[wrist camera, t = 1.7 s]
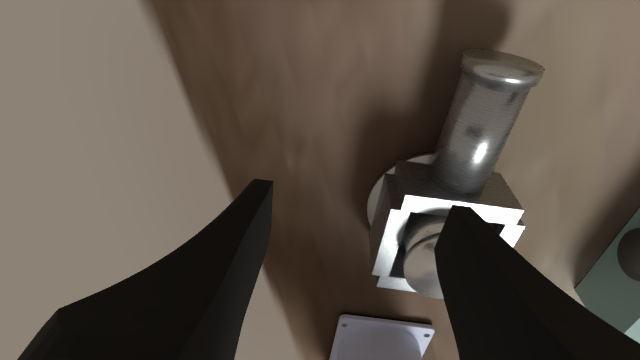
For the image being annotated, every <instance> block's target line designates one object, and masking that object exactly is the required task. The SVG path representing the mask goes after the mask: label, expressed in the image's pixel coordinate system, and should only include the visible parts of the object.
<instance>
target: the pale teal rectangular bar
mask: <svg viewBox="0 0 640 360" xmlns="http://www.w3.org/2000/svg"><path fill="white" fill-rule="evenodd" d="M575 291H576V293H577V294H578V296H579V298H580V299H581V301H582V302H583V304H584V305H585V307H586V308H587V309H588V310H589V311H591V312H592V313H594V314H595V315H597V316H598V317H600V318H601V319H602V320H604V321H605V322H607V323H608V324H610V325H611V326H613V327H614V328H616V329H617V330H619V331H621V332H622V333H624V334H625V335H627V336H629V337H630V338H632V339H633V340H635V341H637V342H638V343H640V208H639V209H638V210H637V212H636V213H635V214H634V215H633V217H632V218H631V219H630V220H629V222H628V223H627V224H626V225H625V227H624V228H623V229H622V230H621V232H620V233H619V234H618V235H617V237H616V238H615V239H614V240H613V242H612V243H611V244H610V246H609V247H608V248H607V249H606V251H605V252H604V253H603V254H602V256H601V257H600V258H599V259H598V261H597V262H596V263H595V264H594V266H593V267H592V268H591V269H590V271H589V272H588V273H587V274H586V276H585V277H584V278H583V280H582V281H581V282H580V283H579V285H578V286H577V287H576V288H575Z"/></svg>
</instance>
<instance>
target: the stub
mask: <svg viewBox="0 0 640 360" xmlns="http://www.w3.org/2000/svg"><path fill="white" fill-rule="evenodd" d="M433 155H434V152H426V153H420V154H417V155H413V156H410V157H407V158H405V159H403V161H410V162H418V163H426V164H431V161H432V158H433ZM395 167H396V163H395V164H394V165H392V166H391V167H389V168H388V169H387V170H385V171H384V172H383V173H382V174H381V175H380V176H379V177H378V179H377V180H376V181H375V183H374V184H373V186H372V188H371V190H370V193H369V196H368V200H367V215H368V220H369V223H370V226H371V225H372V221H373V217H374V213H375V210H376V206H377V202H378V198H379V194H380V191H381V187H382V183H383V179H384V175H385V173H388V174H394V171H395ZM446 218H447V216H439V215H432V214H424V213H416V212H410V214H409V217H408V220H407V223H406V226H405V229H404V232H403V235H402V238H401V239H403V240H404V245H405V251H406V255H405V257H404V260H403V270H404V276H405V279H406V281H407V283H408V285H409V286H410V287H411V288H412V289H413V290H415V291H416V292H418V293H420V294H422V295H424V296H428V297H432V298H440V299H444V297H443V294H442V290H441V287H440V283H439V279H438V275H437V269H436V262H435V253H434V247H435V245H436V242H437V240H438V238H439V235H440V233H441V230H442V228H443V226H444V223H445V221H446Z"/></svg>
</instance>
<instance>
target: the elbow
mask: <svg viewBox="0 0 640 360" xmlns="http://www.w3.org/2000/svg"><path fill="white" fill-rule="evenodd" d="M460 68H461V69H462V73H461V76H460V79H459V82H458V85H457V88H456V91H455V94H454V97H453V100H452V103H451V105H450V108H449V111H448V114H447V117H446V120H445V123H444V126H443V129H442V132H441V135H440V137H439V140H438V143H437V146H436V149H435V152H434V155H433V158H432V161H431V164H426V163H418V162H410V161H403V160H397V163H396V167H395V171H394V174H388V173H385V175H384V179H383V183H382V187H381V191H380V194H379V198H378V202H377V206H376V210H375V213H374V217H373V221H372V225H371V228H370V232H369V245H370V258H371V271H372V275H376V285H377V287H382V288H390V289H398V290H406V291H414V292H416V291H415V290H413V289H412V288H411V287H410V286H409V285H408V283H407V281H406V279H405V276H404V270H403V260H404V257H405V255H406V251H405V245H404V240H403V239H401V238H402V235H403V232H404V229H405V226H406V223H407V220H408V217H409V214H410V212H416V213H424V214H432V215H439V216H448V214H449V211H450V209H451V206H452V205H459V206H467V207H471V208H472V209H473V210H475V211H476V212H477V213H478V214H479V215H480V216H481V217H482V218H483V219H484V220H485V221H486V222H487V223H488V224H489V225H490V226H491V227H492V228H493V229H494V230H495V231H496V232H497V233H498V234H499V235H500V236H501V237H502V238H503V239H504V240H505V241H506V242H507V243H508V244H509V245H511V246H512V247H514V245H515V243H516V242H517V240H518V238H519V236H520V235H521V233H522V231H523V230H524V228H525V225H524V224H523V222H522V221H521V219H520V217H521V215H522V213H523V212H524V209H523V208H522V206H521V205H520V203H519V202H518V200H517V199H516V197H515V196H514V194H513V192H512V191H511V189H510V188H509V186H508V185H507V183H506V182H505V180H504V179H503V177H502V175H501V174H500V173H494V172H492V171H493V168H494V166H495V164H496V162H497V160H498V158H499V156H500V153H501V151H502V149H503V147H504V145H505V143H506V140H507V138H508V136H509V134H510V132H511V130H512V127H513V125H514V123H515V121H516V119H517V117H518V115H519V112H520V110H521V108H522V106H523V104H524V102H525V99H526V97H527V95H528V93H529V91H530V89H531V87H534V86H537V85H538V83H539V81H540V79H541V77H542V75H543V73H544V71H545V69H544V68H543V67H542V66H541V65H539V64H538V63H536V62H534V61H531V60H529V59H526V58H523V57H520V56H516V55H513V54H509V53H504V52H499V51H494V50H486V49H468V50H465V51H464V54H463V57H462V60H461V63H460Z"/></svg>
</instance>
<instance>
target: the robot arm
mask: <svg viewBox="0 0 640 360" xmlns="http://www.w3.org/2000/svg"><path fill="white" fill-rule="evenodd" d="M272 195H273V181H268V180H260V179H254V180H253V181H251V182H250V184H249V185H248V186H247V187H246V188H245V189H244V190H243V191H242V193H241V194H240V195H239V196H238V197H237V198H236V199H235V200H234V201H233V202H232V203H231V204H230V205H229V206H228V207H227V208H226V209H225V210H224V211H223V212H222V213H221V214H220V215H219V216H218V217H216V219H214V220H213V221H212V222H211V223H209V224H208V225H207V226H206V227H205V228H204V229H202V230H201V231H200V232H199V233H198V234H196V235H195V236H194V237H192V238H191V239H190V240H188V241H187V242H186V243H184V244H183V245H181V246H180V247H179V248H177V249H176V250H174V251H173V252H171V253H170V254H168V255H167V256H165V257H163V258H162V259H160V260H159V261H157V262H156V263H154V264H152V265H150V266H149V267H147V268H145V269H144V270H142V271H140V272H138V273H136V274H134V275H132V276H131V277H129V278H127V279H125V280H123V281H121V282H119V283H117V284H115V285H113V286H111V287H108V288H106V289H104V290H102V291H100V292H97V293H95V294H93V295H91V296H88V297H86V298H83V299H81V300H79V301H77V302H74V303H72V304H69V305H67V306H64V307H62V308H59V309H58V310H57V311H56V312H55V313H54V315H53V316H52V317H51V318H50V319H49V320H48V321H47V322H46V323H45V324H44V326H43V327H42V328H41V329H40V331H39V332H38V333H37V334H36V336H35V337H34V338H33V340H32V341H31V342H30V344H29V345H28V346H27V347H26V349H25V350H24V352H23V353H22V354H21V355H20V357H19V358H18V359H17V360H234V357H235V353H236V349H237V344H238V340H239V336H240V331H241V327H242V323H243V320H244V316H245V313H246V310H247V307H248V304H249V301H250V298H251V295H252V292H253V289H254V286H255V283H256V280H257V277H258V274H259V271H260V268H261V265H262V262H263V259H264V256H265V253H266V248H267V244H268V239H269V234H270V229H271V214H272ZM434 253H435V262H436V269H437V275H438V279H439V283H440V287H441V290H442V294H443V297H444V301H445V304H446V308H447V311H448V315H449V318H450V322H451V325H452V329H453V332H454V336H455V340H456V344H457V348H458V352H459V358H460V360H640V343H638V342H637V341H635V340H633V339H632V338H630V337H629V336H627V335H625V334H624V333H622V332H621V331H619V330H617V329H616V328H614V327H613V326H611V325H610V324H608V323H607V322H605V321H604V320H602V319H601V318H600V317H598V316H597V315H595V314H594V313H592V312H591V311H589V310H588V309H586V308H585V307H584V306H582V305H581V304H579V303H578V302H577V301H575V300H574V299H573V298H571V297H570V296H569V295H568V294H566V293H565V292H564V291H562V290H561V289H560V288H558V287H557V286H556V285H555V284H553V283H552V282H551V281H550V280H548V279H547V278H546V277H545V276H544V275H543V274H541V273H540V272H539V271H538V270H537V269H536V268H535V267H533V266H532V265H531V264H530V263H529V262H528V261H527V260H525V259H524V258H523V257H522V256H521V255H520V254H519V253H518V252H517V251H516V250H515V249H514V248H513V247H512V246H511V245H509V244H508V243H507V242H506V241H505V240H504V239H503V238H502V237H501V236H500V235H499V234H498V233H497V232H496V231H495V230H494V229H493V228H492V227H491V226H490V225H489V224H488V223H487V222H486V221H485V220H484V219H483V218H482V217H481V216H480V215H479V214H478V213H477V212H476V211H475V210H473V209H472V208H471V207H467V206H459V205H452V206H451V209H450V211H449V214H448V216H447V218H446V221H445V223H444V226H443V228H442V230H441V233H440V235H439V238H438V240H437V242H436V245H435V247H434ZM434 332H435V330H434V327H433V326H432V325H428V324H420V323H412V322H404V321H396V320H388V319H380V318H372V317H364V316H356V315H348V314H343V315H341V316H340V317H339V321H338V325H337V329H336V333H335V337H334V342H333V346H332V350H331V354H330V358H329V360H422V356H423V354H424V352H425V350H426V348H427V346H428V344H429V342H430V340H431V338H432V336H433V334H434Z"/></svg>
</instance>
